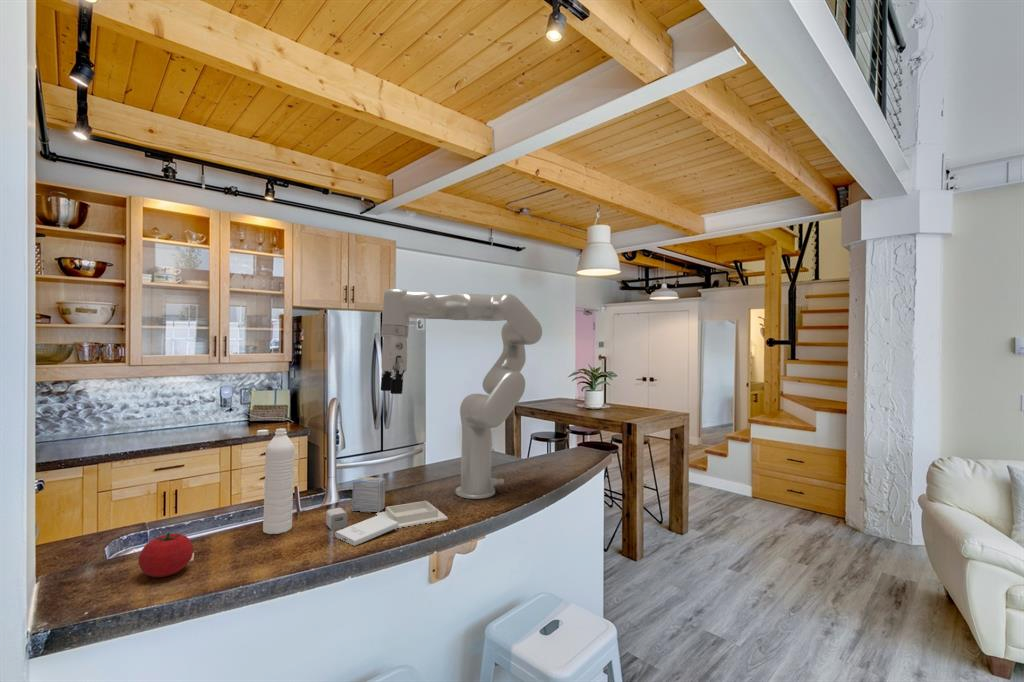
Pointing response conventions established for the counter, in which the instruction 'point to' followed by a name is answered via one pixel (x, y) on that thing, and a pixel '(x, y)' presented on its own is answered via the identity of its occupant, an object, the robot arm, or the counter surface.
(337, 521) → the usb wall charger
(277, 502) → the water bottle
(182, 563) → the tomato
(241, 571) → the counter surface
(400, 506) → the outlet plate
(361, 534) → the external hard drive
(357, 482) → the medicine box
